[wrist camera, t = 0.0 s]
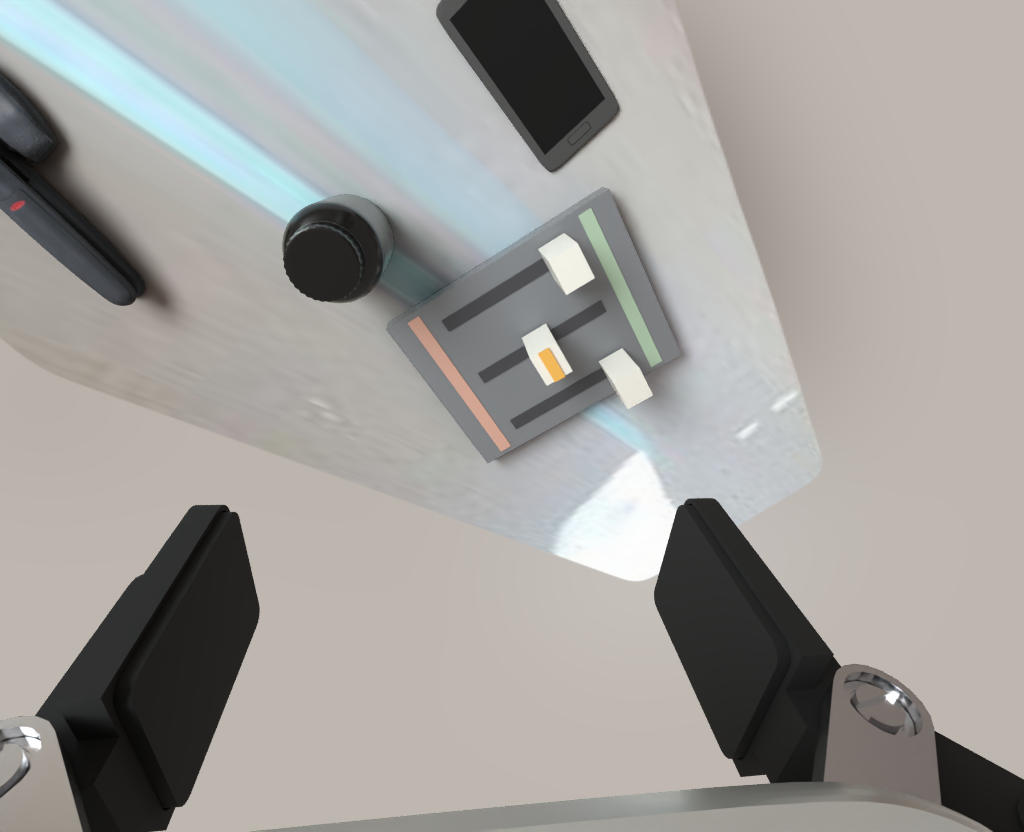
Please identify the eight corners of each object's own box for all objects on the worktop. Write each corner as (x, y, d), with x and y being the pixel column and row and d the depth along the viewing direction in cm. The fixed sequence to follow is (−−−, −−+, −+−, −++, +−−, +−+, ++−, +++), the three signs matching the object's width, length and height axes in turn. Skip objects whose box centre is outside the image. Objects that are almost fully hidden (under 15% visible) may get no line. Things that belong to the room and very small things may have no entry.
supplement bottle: (408, 260, 44) (396, 296, 33) (337, 290, 44) (303, 335, 34) (370, 178, 40) (343, 190, 30) (293, 211, 41) (241, 235, 30)
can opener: (-91, 91, 35) (-179, 82, 30) (-11, 40, 34) (-87, 23, 29) (112, 314, 43) (70, 336, 38) (180, 278, 43) (146, 295, 38)
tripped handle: (521, 337, 46) (530, 359, 41) (545, 323, 45) (556, 343, 41) (537, 363, 47) (547, 387, 43) (560, 349, 47) (573, 372, 42)
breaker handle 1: (537, 249, 42) (548, 261, 38) (563, 232, 42) (577, 243, 37) (554, 279, 44) (566, 295, 39) (579, 264, 43) (594, 278, 39)
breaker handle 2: (598, 361, 48) (613, 383, 43) (622, 348, 47) (639, 368, 43) (611, 385, 49) (627, 409, 45) (634, 372, 49) (653, 395, 44)
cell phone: (549, 175, 42) (550, 176, 42) (431, 12, 36) (430, 9, 36) (620, 110, 40) (623, 109, 40) (509, -73, 34) (510, -77, 34)
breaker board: (388, 322, 46) (386, 330, 44) (602, 187, 43) (609, 189, 41) (486, 452, 54) (487, 463, 52) (673, 347, 50) (682, 355, 49)
